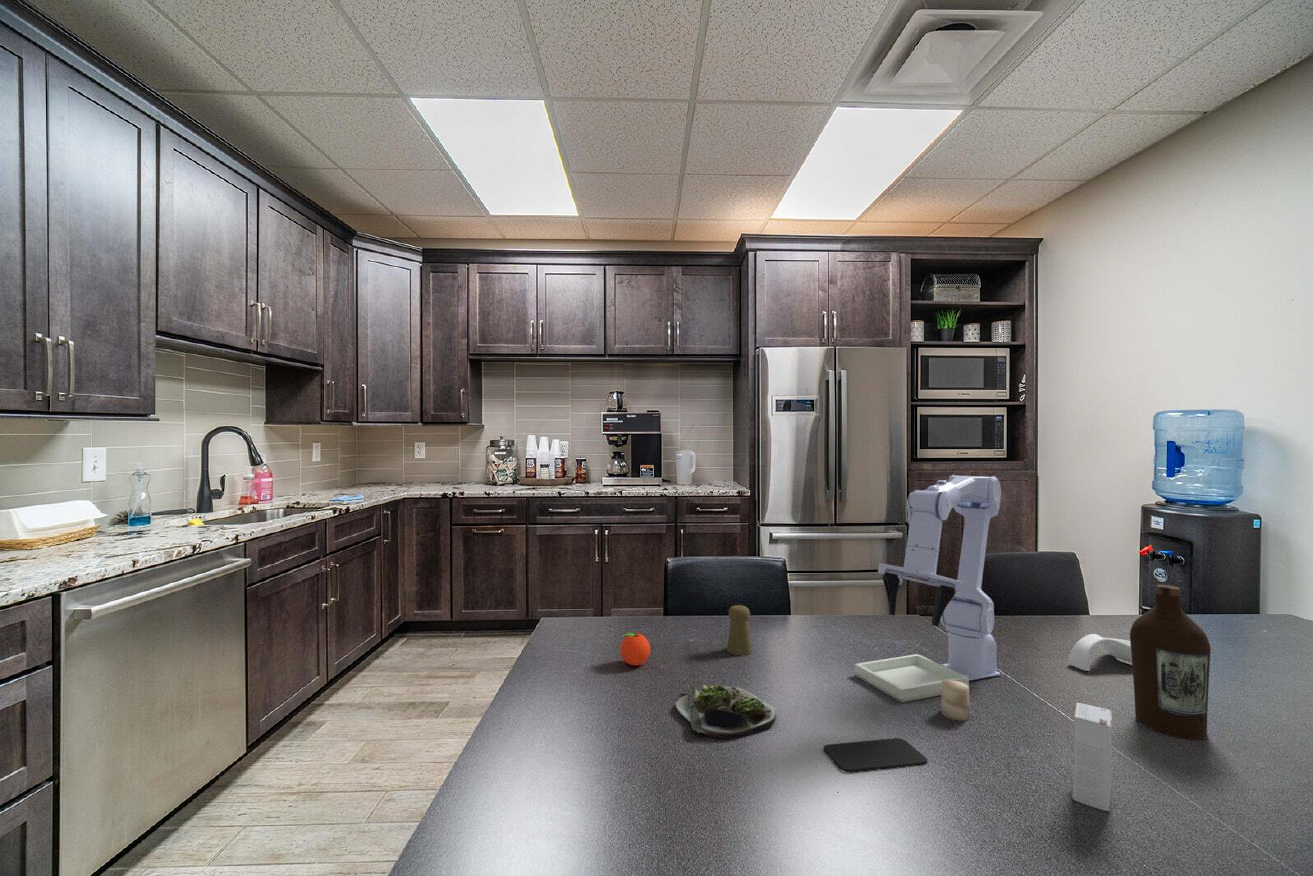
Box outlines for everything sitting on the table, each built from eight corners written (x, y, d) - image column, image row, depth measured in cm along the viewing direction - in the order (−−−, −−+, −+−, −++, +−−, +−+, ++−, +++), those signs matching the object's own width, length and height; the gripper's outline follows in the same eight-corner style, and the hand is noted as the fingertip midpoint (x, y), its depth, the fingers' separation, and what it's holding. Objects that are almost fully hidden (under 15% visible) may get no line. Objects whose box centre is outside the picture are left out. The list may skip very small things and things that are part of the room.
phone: (931, 761, 86) (843, 770, 84) (931, 767, 86) (843, 776, 84) (902, 737, 94) (820, 744, 91) (901, 742, 94) (820, 750, 91)
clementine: (610, 667, 125) (610, 635, 125) (624, 656, 131) (624, 626, 131) (643, 672, 122) (643, 640, 122) (654, 661, 128) (654, 630, 128)
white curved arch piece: (1125, 651, 136) (1124, 622, 136) (1182, 669, 124) (1181, 637, 124) (1053, 661, 129) (1052, 631, 129) (1106, 682, 118) (1106, 648, 118)
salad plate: (653, 702, 108) (653, 678, 108) (729, 685, 116) (729, 663, 116) (704, 750, 91) (704, 722, 91) (789, 726, 99) (788, 701, 99)
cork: (751, 656, 131) (751, 610, 131) (726, 654, 132) (726, 609, 132) (752, 647, 137) (752, 603, 137) (727, 646, 138) (727, 602, 138)
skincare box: (1074, 781, 82) (1073, 700, 82) (1113, 793, 79) (1112, 709, 79) (1071, 801, 77) (1070, 715, 78) (1113, 815, 74) (1111, 725, 75)
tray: (917, 665, 126) (917, 654, 126) (969, 689, 113) (968, 677, 113) (854, 675, 120) (854, 664, 120) (901, 702, 107) (901, 689, 107)
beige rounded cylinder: (954, 707, 105) (953, 678, 105) (975, 718, 101) (975, 688, 101) (935, 711, 104) (935, 682, 104) (956, 722, 99) (956, 692, 100)
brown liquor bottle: (1119, 708, 105) (1117, 577, 106) (1188, 716, 102) (1186, 582, 102) (1150, 736, 95) (1148, 591, 95) (1227, 746, 92) (1225, 596, 92)
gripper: (886, 539, 106) (876, 610, 102) (969, 556, 102) (961, 631, 98) (880, 543, 112) (870, 610, 109) (958, 559, 108) (950, 630, 105)
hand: (913, 620), depth 104 cm, fingers open, 7 cm apart
